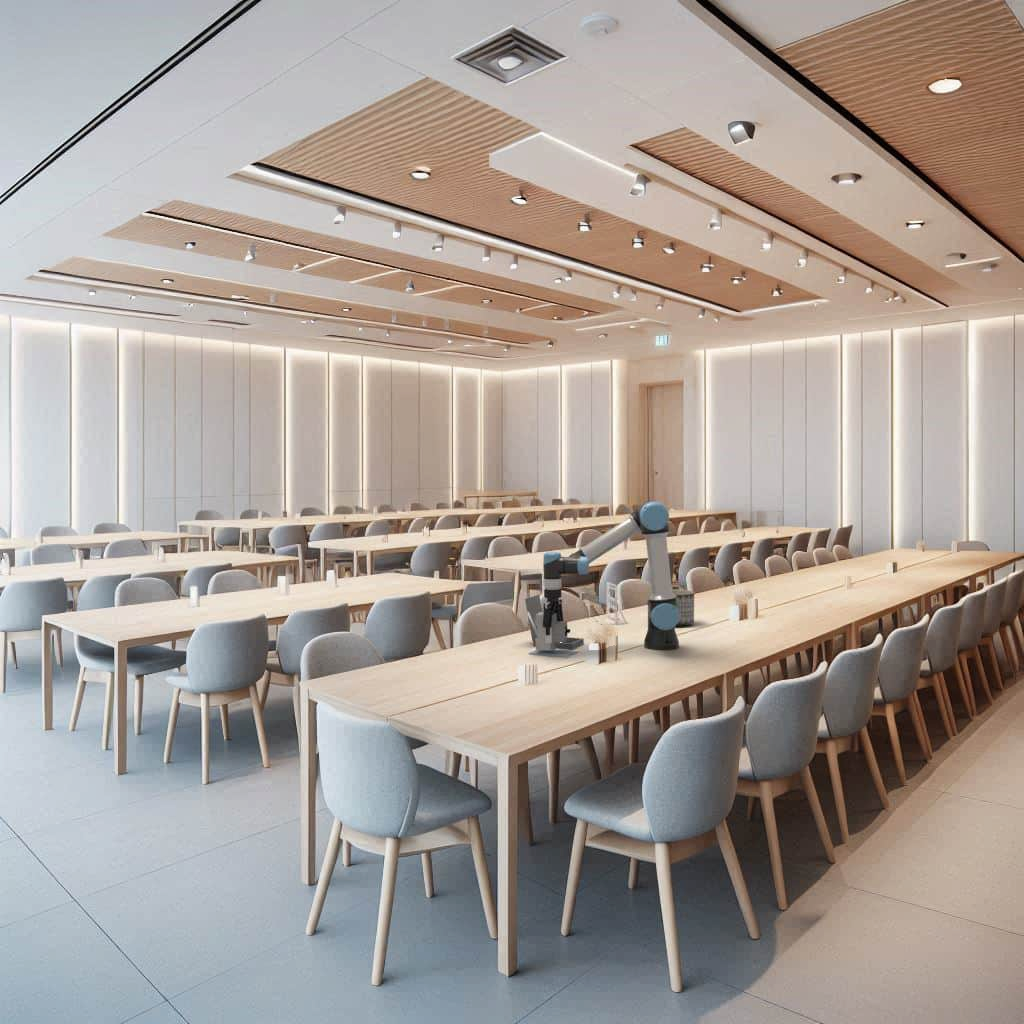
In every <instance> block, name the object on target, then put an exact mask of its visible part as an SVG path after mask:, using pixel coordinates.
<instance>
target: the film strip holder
mask: <svg viewBox="0 0 1024 1024" xmlns="http://www.w3.org/2000/svg"><path fill="white" fill-rule="evenodd" d="M605 588H606V589H605V590H606V592H605V593H606V595H605V596H606V600H605V601H606V603H605V604H606V620H607V621H609V620H610V621H609V622H610V624H612V625H611V626H613V625H617V626H618V625H626V624H629V622H628V621H626V618H625V616H624V614H623V611H622V610H621V609H620V606H619V603H618V585H617V584H614V583H612V582H609V581H607V582H606V587H605ZM610 590H614V594H615V597H613V596H611V593H610ZM611 609H612V611H613V613H614V615H615V617H614V616H612V615H611V613H610V611H611ZM618 611H619V613H620V615H621V617H622V620H623V621H620V620H621V619H620V618H619V617H618Z"/></svg>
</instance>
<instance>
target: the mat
mask: <svg viewBox="0 0 1024 1024" xmlns="http://www.w3.org/2000/svg"><path fill="white" fill-rule="evenodd" d="M578 653H579V651H578V650H570V649H559V648H556V649H555V650H536V649H535V650H532V651H531V652H528V655H533V656H545V657H553V658H554V657H555V658H566V659H568V658H569V657H572V656H574V655H575V654H578Z"/></svg>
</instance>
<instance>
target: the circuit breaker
mask: <svg viewBox="0 0 1024 1024" xmlns="http://www.w3.org/2000/svg"><path fill="white" fill-rule="evenodd" d="M543 614H544V611H542V612H539V613H538V614H536V619H535V625H536V626H537V632H538V637H537V638H536V646H535V650H555V649H558V648H557V647H558V645H557V642H565V641H566V640H567V637H568V634H570V633H571V628H568V621H565V620H563V621H557V613H553V615H552V623H551V628H552V643H546V635H545V628H544V627H543Z"/></svg>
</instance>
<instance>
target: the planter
mask: <svg viewBox="0 0 1024 1024" xmlns="http://www.w3.org/2000/svg"><path fill="white" fill-rule="evenodd" d="M672 592H673V594H675V595H676V598H677V607H678V611H679V614H680V618H679V622H678V623H677V625H676V626H675V628H676V627H677V628H678V627H680V628H681V627H685V626H686V625H692V624H694V621H695V591H693V590H690V589H689V590H687V589H675V588H674V589H673V588H672Z"/></svg>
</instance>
